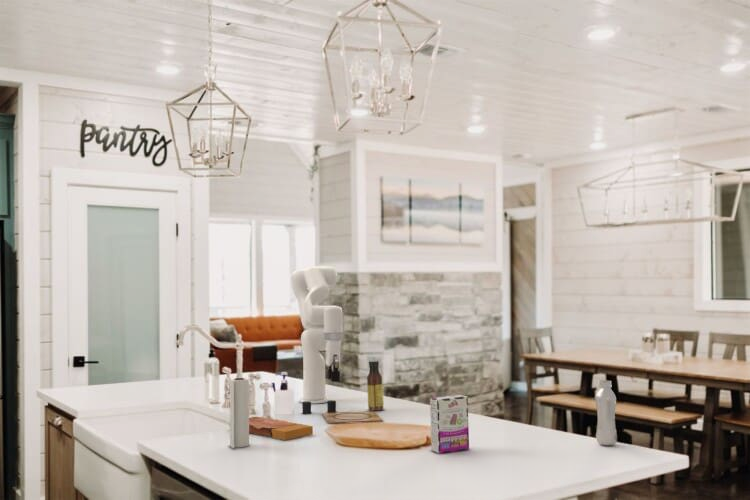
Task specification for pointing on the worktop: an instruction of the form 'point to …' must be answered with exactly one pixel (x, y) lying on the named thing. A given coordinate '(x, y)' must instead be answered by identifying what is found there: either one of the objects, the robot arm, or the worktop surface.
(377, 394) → the sauce bottle
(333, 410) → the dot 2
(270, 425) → the brown flat block
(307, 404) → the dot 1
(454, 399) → the candy bar box
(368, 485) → the worktop surface
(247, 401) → the tall grey block
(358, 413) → the board
